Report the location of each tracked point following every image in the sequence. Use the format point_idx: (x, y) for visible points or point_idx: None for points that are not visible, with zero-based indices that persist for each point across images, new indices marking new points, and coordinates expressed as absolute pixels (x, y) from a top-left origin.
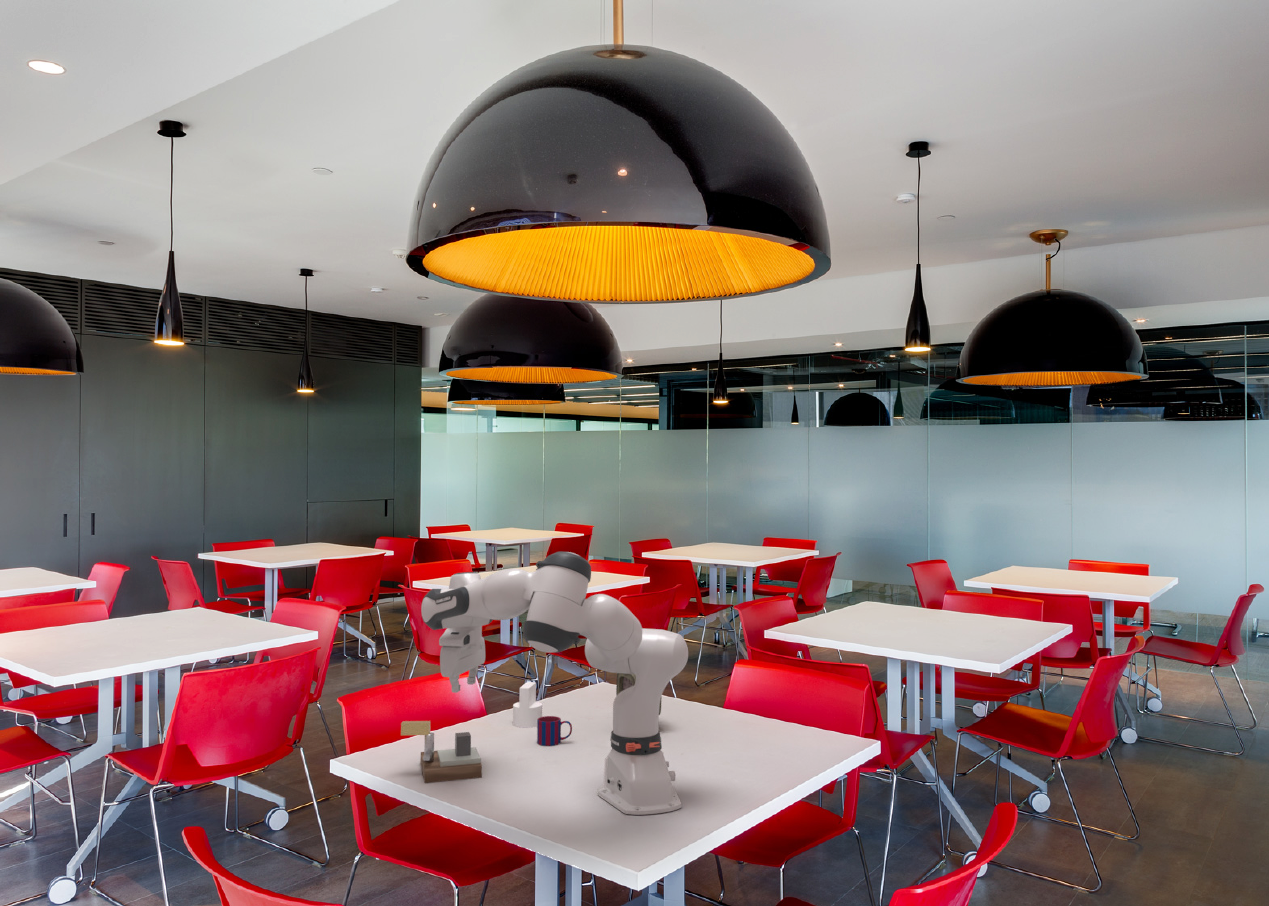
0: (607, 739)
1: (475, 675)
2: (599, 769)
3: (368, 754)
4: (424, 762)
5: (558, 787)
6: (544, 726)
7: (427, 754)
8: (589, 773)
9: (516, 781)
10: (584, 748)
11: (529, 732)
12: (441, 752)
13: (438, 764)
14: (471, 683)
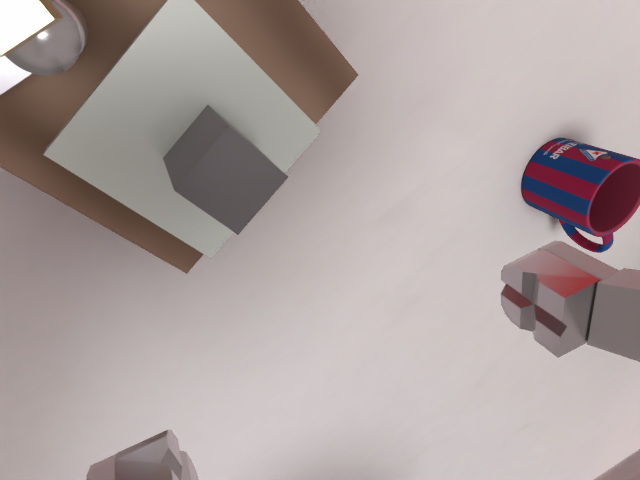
0: None
1: (616, 347)
2: (395, 406)
3: None
4: None
5: (243, 444)
6: (572, 205)
7: (3, 62)
8: (363, 413)
9: (219, 351)
10: None
11: (635, 43)
12: (165, 37)
13: (63, 111)
14: (508, 305)
